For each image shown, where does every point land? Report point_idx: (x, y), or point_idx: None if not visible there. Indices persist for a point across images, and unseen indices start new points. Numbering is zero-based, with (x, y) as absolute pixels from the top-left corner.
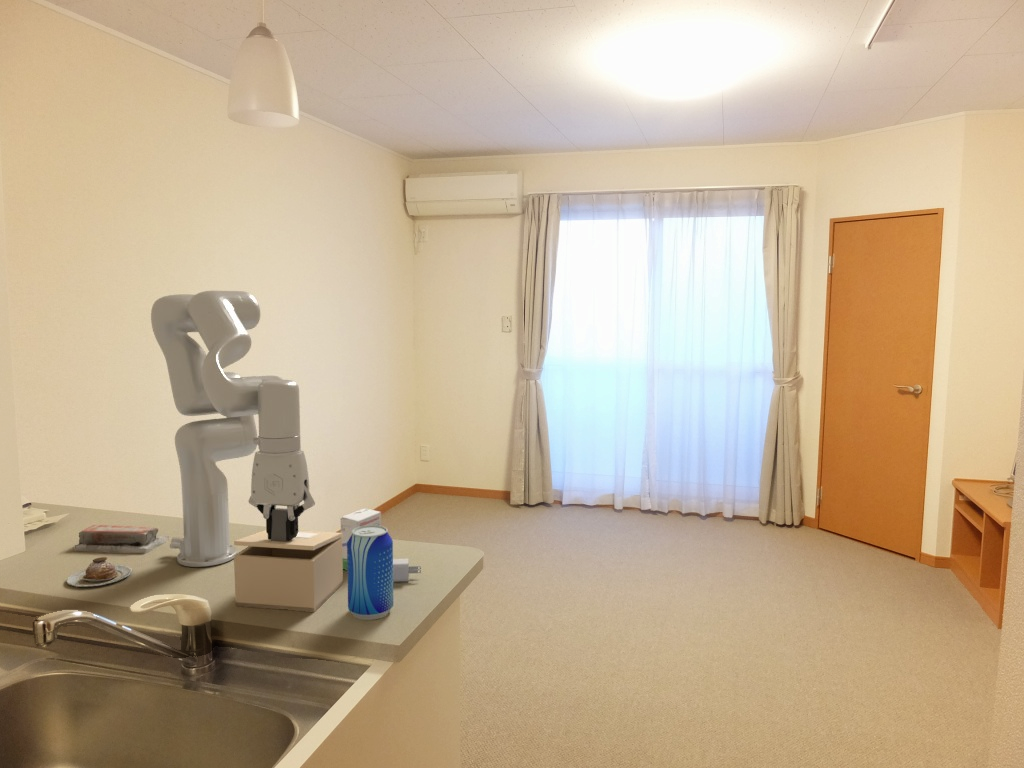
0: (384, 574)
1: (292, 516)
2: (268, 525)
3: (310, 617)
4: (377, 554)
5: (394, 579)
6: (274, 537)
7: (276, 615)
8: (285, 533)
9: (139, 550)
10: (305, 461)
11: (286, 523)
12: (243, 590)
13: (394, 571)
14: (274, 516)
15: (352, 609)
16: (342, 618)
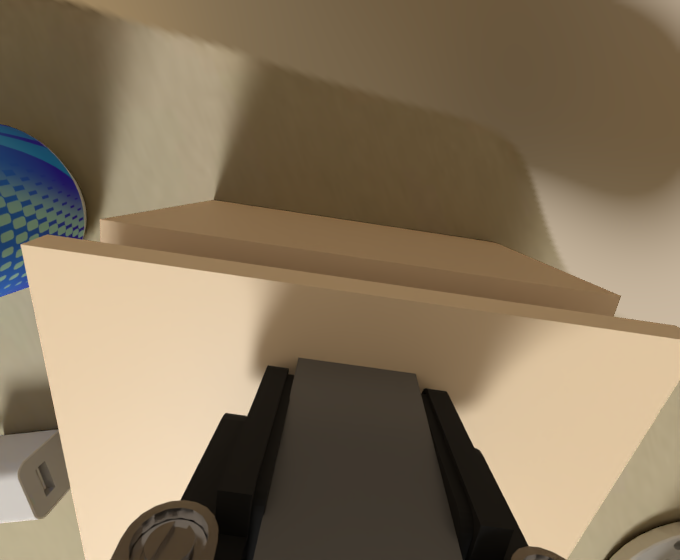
0: None
1: (144, 556)
2: (474, 469)
3: (212, 159)
4: None
5: (34, 433)
6: (393, 390)
7: (333, 172)
8: (294, 401)
9: None
10: None
11: (258, 466)
12: (485, 248)
13: (10, 453)
14: None
15: (34, 144)
16: (101, 154)
